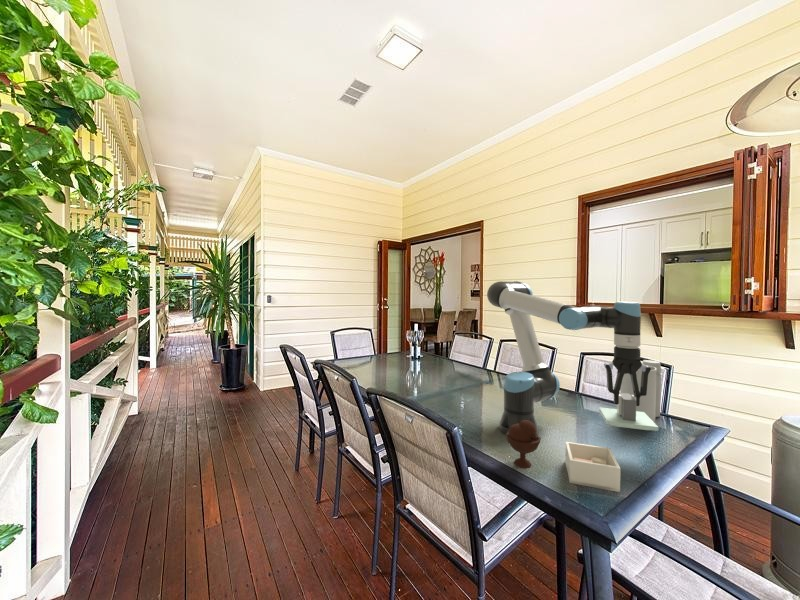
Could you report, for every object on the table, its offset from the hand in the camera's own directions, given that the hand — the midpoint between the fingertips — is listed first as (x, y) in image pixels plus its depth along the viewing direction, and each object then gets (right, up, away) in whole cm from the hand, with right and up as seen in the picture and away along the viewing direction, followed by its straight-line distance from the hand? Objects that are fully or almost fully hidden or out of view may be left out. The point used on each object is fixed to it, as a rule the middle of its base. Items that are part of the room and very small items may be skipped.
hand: (626, 413), depth 115 cm
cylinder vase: (+25, -15, +30) cm, 41 cm away
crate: (-18, -16, -10) cm, 26 cm away
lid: (0, -2, 0) cm, 2 cm away
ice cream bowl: (-37, -16, -3) cm, 40 cm away
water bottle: (+37, -14, +40) cm, 57 cm away
